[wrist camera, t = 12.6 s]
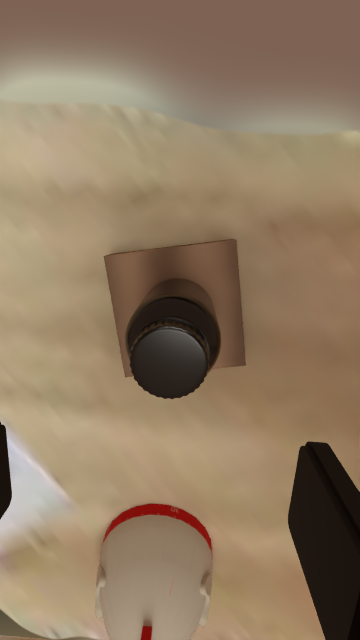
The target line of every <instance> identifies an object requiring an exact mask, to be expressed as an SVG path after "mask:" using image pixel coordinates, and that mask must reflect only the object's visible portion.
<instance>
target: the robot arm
mask: <svg viewBox="0 0 360 640" xmlns="http://www.w3.org/2000/svg"><path fill="white" fill-rule="evenodd" d="M11 498H12V490H11V480H10V469H9V458H8V448H7V437H6V428H5V426H4V425H1V422H0V519H1V517H2V516H3V514H4V513H5V511H6V510H7V508H8V507H9V505H10V502H11ZM288 524H289V529H290V533H291V536H292V539H293V542H294V545H295V548H296V551H297V554H298V557H299V560H300V563H301V566H302V569H303V572H304V575H305V578H306V581H307V584H308V587H309V591H310V594H311V597H312V600H313V603H314V606H315V609H316V612H317V615H318V618H319V621H320V624H321V627H322V630H323V633H324V636H325V639H326V640H360V492H359V491H358V489H357V488H356V486H355V485H354V483H353V482H352V480H351V478H350V477H349V475H348V474H347V472H346V471H345V469H344V468H343V466H342V465H341V463H340V461H339V460H338V458H337V457H336V455H335V454H334V452H333V451H332V449H331V448H330V446H329V445H328V444H327V443H321V442H307V443H306V445H305V446H301V447H300V450H299V455H298V461H297V467H296V473H295V479H294V485H293V491H292V496H291V502H290V508H289V514H288ZM0 640H50V639H37V638H26V637H14V636H13V637H12V636H1V635H0Z"/></svg>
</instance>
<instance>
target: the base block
mask: <svg viewBox="0 0 360 640" xmlns="http://www.w3.org/2000/svg"><path fill="white" fill-rule="evenodd" d="M104 260H105V266H106V271H107V277H108V283H109V288H110V294H111V300H112V305H113V311H114V317H115V322H116V328H117V333H118V339H119V345H120V350H121V356H122V362H123V367H124V373H125V377H132V376H134V375H133V374H132V373H131V367H130V365H129V364H130V360H129V358H128V355H127V352H126V347H125V332H126V328H127V325H128V322H129V320H130V318H131V316H132V315H133V313H134V312H135V310H136V309H137V307H138V306H139V305H140V303H141V302H142V300H143V299H144V298H145V296H146V295H147V293H148V292H149V291H150V290H151V289H152V288H153V287H154V286H156V285H157V284H159V283H160V282H162V281H165V280H168V279H173V278H182V279H187V280H190V281H193V282H195V283H197V284H198V285H200V286H201V287H202V288H203V289H204V290H205V291H206V292H207V293H208V295H209V296H210V298H211V300H212V303H213V305H214V309H215V313H216V316H217V320H218V324H219V328H220V333H221V349H220V353H219V356H218V359H217V361H216V363H215V365H214V366H213V368H212V369H214V368H224V367H234V366H244V365H246V362H245V349H244V335H243V322H242V309H241V296H240V282H239V269H238V256H237V243H236V240H234V239H230V240H222V241H214V242H206V243H198V244H190V245H182V246H173V247H165V248H157V249H149V250H141V251H133V252H125V253H117V254H110V255H106V256H104Z"/></svg>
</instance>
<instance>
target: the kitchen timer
mask: <svg viewBox="0 0 360 640" xmlns="http://www.w3.org/2000/svg"><path fill="white" fill-rule="evenodd" d="M212 566H213V563H212V549H211V539H210V537H209V535H208V533H207V531H206V529H205V527H204V526H203V525H202V524H201V523H200V522H199V521H198V520H197V519H196V518H195V517H194V516H192V515H191V514H189V513H187V512H186V511H184V510H182V509H179V508H176V507H173V506H170V505H162V504H147V505H141V506H136V507H134V508H131V509H129V510H127V511H125V512H123V513H122V514H120V515H119V516H118V517H117V518H116V519H115V520H113V521H112V523H111V525H110V526H109V528H108V530H107V532H106V534H105V538H104V541H103V545H102V551H101V557H100V564H99V567H98V572H97V582H96V602H95V610H96V617H97V618H98V619H101V618H103V619H104V623H105V627H106V630H107V633H108V636H109V638H110V640H190V639H191V638H192V636H193V634H194V633H195V631H196V629H197V627H198V624H199V625H200V626H202V627H205V625H206V622H207V617H208V611H209V604H210V595H211V586H212Z"/></svg>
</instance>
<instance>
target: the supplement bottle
mask: <svg viewBox="0 0 360 640" xmlns="http://www.w3.org/2000/svg"><path fill="white" fill-rule="evenodd" d="M125 347H126V352H127V355H128V358H129V360H130V364H129V365H130V367H131V373H132V374H133V375H134V379H135V380H136V381H137V382H138V385H139V386H141V387H142V388H143V389H144V390H145V391H148V392H149V393H150V394H152V395H155V396H156V397H162V398H164V399H166V398H170V399H174V398H181V397H182V396H187V395H188V394H189V393H192V392H194V390H195V389H197V388H199V386H200V384H201V383H202V382H203V381H204V378H205V377H206V375H207V373H208V372H209V371H210V370H211V369H212V368H213V366H214V365H215V363H216V361H217V359H218V356H219V353H220V349H221V333H220V328H219V324H218V320H217V316H216V313H215V309H214V305H213V303H212V300H211V298H210V296H209V295H208V293H207V292H206V291H205V290H204V289H203V288H202V287H201V286H200V285H198V284H197V283H195V282H193V281H190V280H187V279H182V278H173V279H168V280H165V281H162V282H160V283H159V284H157V285H156V286H154V287H153V288H152V289H151V290H150V291H149V292H148V293H147V295H146V296H145V298H144V299H143V300H142V302H141V303H140V305H139V306H138V307H137V309H136V310H135V312H134V313H133V315H132V316H131V318H130V320H129V322H128V325H127V328H126V332H125Z"/></svg>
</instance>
